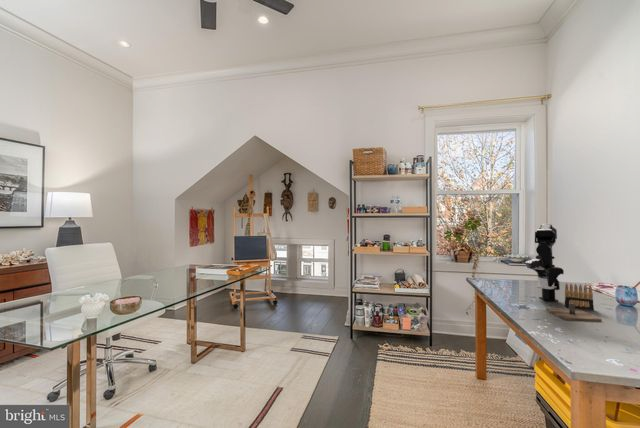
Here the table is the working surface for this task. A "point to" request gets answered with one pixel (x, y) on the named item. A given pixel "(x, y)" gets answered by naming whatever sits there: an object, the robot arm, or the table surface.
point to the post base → (573, 314)
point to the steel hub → (544, 282)
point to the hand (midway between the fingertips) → (546, 285)
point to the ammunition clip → (577, 301)
